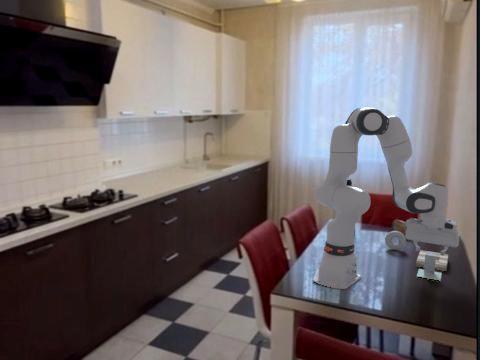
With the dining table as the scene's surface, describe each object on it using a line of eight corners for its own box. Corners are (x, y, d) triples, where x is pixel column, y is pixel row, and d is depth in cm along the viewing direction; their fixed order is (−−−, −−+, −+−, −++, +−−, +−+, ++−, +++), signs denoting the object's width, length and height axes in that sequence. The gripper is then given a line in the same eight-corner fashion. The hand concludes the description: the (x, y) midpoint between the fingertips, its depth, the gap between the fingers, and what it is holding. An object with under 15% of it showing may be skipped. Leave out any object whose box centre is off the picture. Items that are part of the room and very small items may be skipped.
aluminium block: (434, 276, 163) (435, 256, 162) (423, 274, 165) (425, 254, 164) (434, 273, 167) (436, 253, 165) (424, 271, 169) (426, 251, 167)
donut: (405, 250, 198) (406, 231, 196) (405, 252, 195) (406, 233, 193) (384, 247, 201) (385, 229, 200) (384, 249, 198) (385, 230, 197)
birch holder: (446, 272, 170) (446, 265, 170) (416, 266, 176) (416, 260, 175) (447, 260, 184) (448, 254, 183) (419, 255, 190) (420, 250, 189)
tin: (391, 231, 230) (391, 217, 228) (395, 231, 230) (396, 217, 229) (406, 239, 215) (407, 224, 214) (411, 239, 215) (412, 224, 214)
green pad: (440, 281, 160) (440, 280, 160) (416, 277, 165) (416, 275, 164) (441, 274, 168) (441, 272, 168) (418, 270, 172) (419, 268, 172)
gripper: (405, 218, 165) (402, 250, 167) (460, 226, 154) (456, 260, 156) (407, 216, 170) (404, 246, 172) (461, 223, 160) (457, 255, 162)
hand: (429, 253), depth 164 cm, fingers open, 8 cm apart
